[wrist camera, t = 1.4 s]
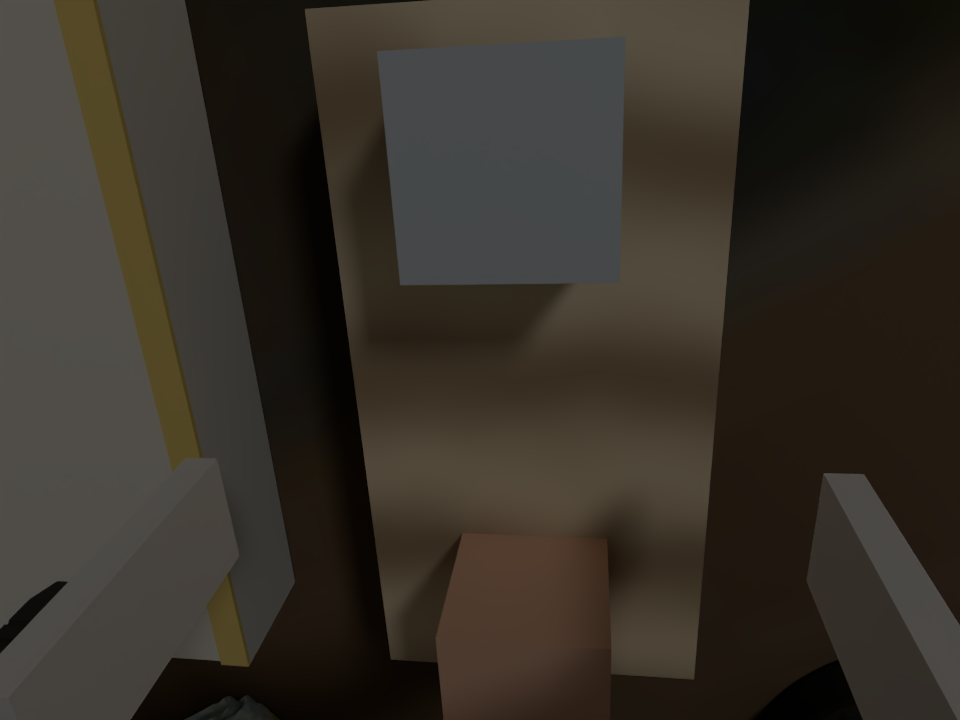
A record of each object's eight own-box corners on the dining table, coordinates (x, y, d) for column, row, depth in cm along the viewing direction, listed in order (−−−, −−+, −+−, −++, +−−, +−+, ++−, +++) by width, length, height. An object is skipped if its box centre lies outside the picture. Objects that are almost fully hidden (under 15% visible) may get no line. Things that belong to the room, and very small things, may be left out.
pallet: (673, 560, 32) (694, 679, 26) (426, 550, 33) (390, 659, 27) (708, -4, 23) (751, -22, 17) (372, 18, 25) (304, 9, 19)
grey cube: (612, 231, 20) (619, 282, 15) (440, 234, 21) (399, 285, 16) (616, 39, 18) (625, 36, 14) (426, 50, 19) (376, 51, 14)
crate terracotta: (605, 650, 26) (608, 774, 21) (470, 642, 26) (447, 760, 22) (606, 538, 24) (611, 649, 19) (462, 532, 24) (435, 638, 20)
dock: (294, 581, 35) (248, 666, 30) (-5, 566, 37) (-92, 643, 32) (178, -35, 25) (80, -55, 20) (-225, -3, 27) (-398, -14, 22)
